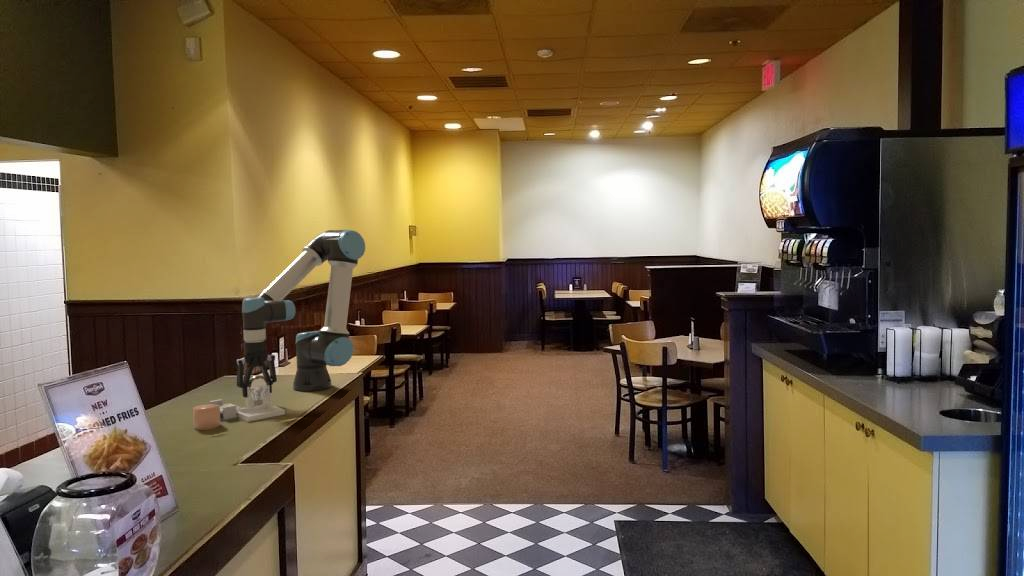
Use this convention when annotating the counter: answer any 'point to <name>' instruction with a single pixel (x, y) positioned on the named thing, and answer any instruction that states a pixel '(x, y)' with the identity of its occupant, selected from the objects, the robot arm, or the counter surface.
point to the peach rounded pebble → (206, 417)
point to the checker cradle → (226, 411)
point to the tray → (260, 412)
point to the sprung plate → (228, 405)
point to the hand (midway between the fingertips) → (257, 403)
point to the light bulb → (257, 389)
